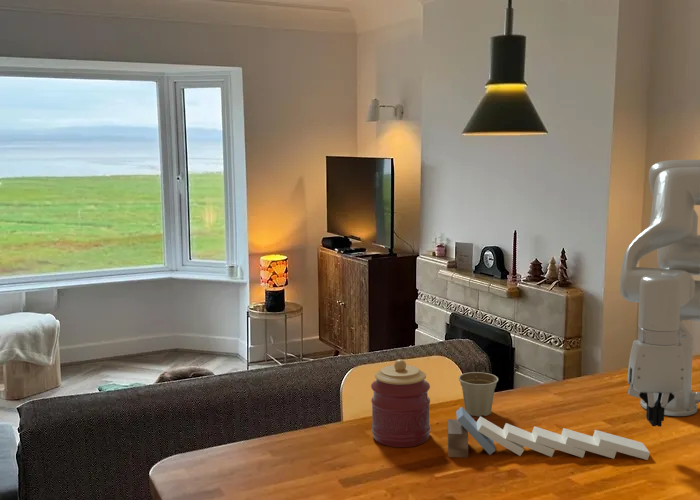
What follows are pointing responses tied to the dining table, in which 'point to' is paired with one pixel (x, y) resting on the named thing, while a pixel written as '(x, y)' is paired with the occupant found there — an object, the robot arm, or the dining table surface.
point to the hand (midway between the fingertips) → (654, 423)
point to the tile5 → (497, 435)
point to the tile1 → (621, 444)
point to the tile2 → (585, 443)
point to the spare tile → (475, 430)
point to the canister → (400, 406)
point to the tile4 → (525, 439)
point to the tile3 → (555, 441)
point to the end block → (457, 439)
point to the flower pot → (478, 392)
